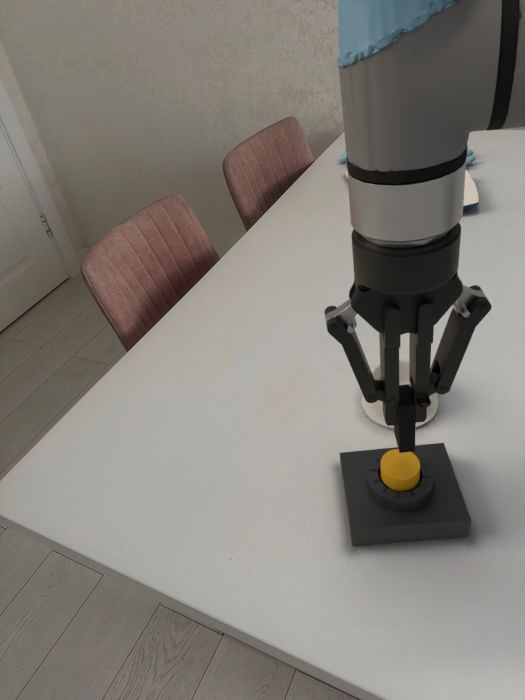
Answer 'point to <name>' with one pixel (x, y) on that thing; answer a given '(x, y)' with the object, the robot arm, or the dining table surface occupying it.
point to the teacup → (376, 408)
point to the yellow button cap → (400, 470)
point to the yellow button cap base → (403, 499)
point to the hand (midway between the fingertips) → (404, 441)
